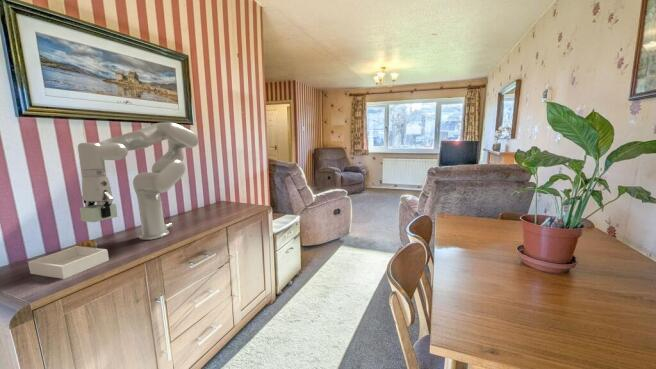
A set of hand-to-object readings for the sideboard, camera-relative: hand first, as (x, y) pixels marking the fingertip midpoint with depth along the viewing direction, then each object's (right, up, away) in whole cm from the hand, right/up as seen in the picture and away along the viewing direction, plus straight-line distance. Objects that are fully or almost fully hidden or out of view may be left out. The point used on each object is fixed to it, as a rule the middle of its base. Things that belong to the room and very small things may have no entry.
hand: (99, 216), depth 111 cm
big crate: (-3, -18, -9) cm, 20 cm away
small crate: (0, -1, 0) cm, 1 cm away
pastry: (-13, -16, +8) cm, 22 cm away
